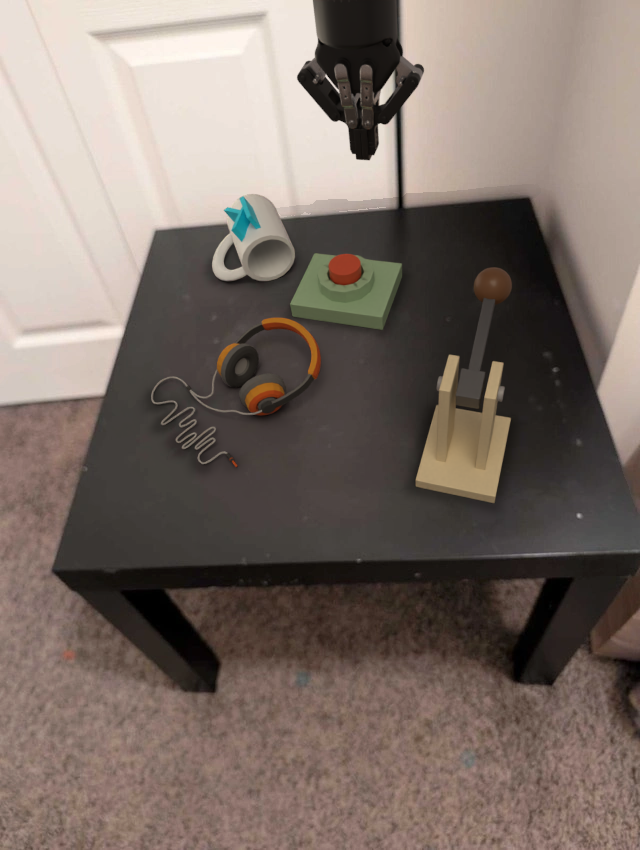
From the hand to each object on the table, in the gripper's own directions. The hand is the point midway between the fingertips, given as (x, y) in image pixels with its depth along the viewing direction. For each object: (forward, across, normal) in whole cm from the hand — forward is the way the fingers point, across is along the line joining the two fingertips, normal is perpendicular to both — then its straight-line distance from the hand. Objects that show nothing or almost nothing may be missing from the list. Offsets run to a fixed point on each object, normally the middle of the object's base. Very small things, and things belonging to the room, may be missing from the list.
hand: (365, 155), depth 73 cm
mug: (+19, -19, +3) cm, 27 cm away
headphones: (+19, -10, -21) cm, 30 cm away
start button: (+15, -3, -2) cm, 16 cm away
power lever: (+8, +16, -18) cm, 25 cm away
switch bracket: (+19, +16, -24) cm, 34 cm away
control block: (+19, -3, -2) cm, 19 cm away
